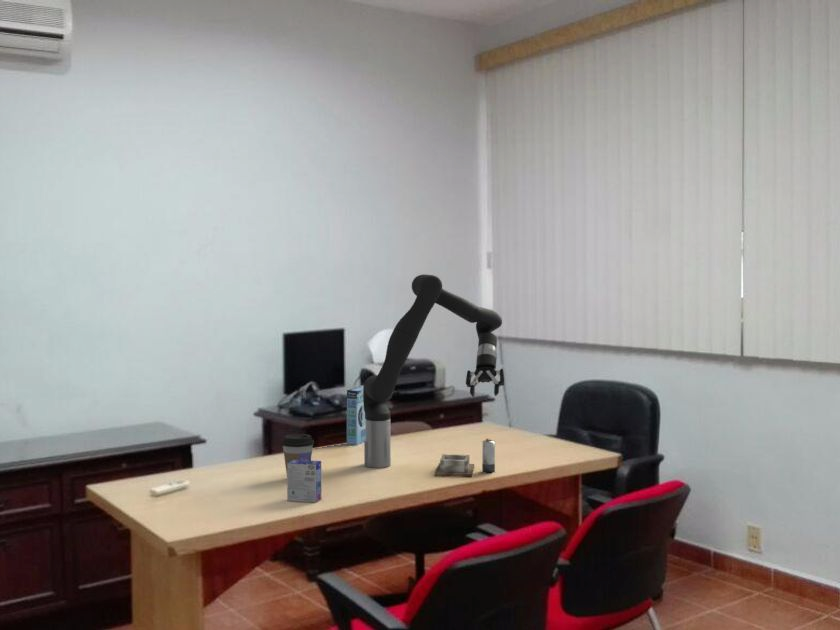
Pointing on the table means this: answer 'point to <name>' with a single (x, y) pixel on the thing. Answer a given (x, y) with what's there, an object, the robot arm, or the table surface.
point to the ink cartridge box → (304, 480)
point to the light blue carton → (355, 416)
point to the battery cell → (488, 456)
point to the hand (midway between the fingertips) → (484, 395)
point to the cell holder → (454, 466)
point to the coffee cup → (296, 446)
